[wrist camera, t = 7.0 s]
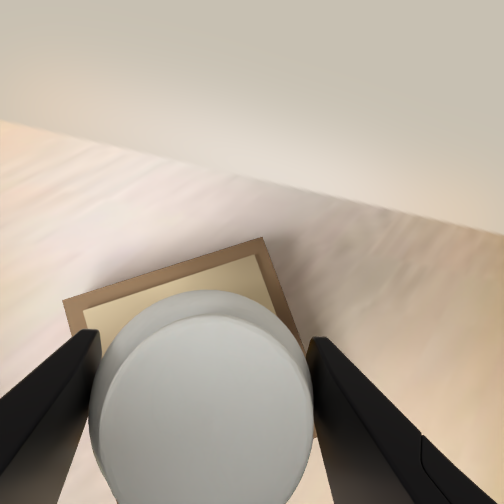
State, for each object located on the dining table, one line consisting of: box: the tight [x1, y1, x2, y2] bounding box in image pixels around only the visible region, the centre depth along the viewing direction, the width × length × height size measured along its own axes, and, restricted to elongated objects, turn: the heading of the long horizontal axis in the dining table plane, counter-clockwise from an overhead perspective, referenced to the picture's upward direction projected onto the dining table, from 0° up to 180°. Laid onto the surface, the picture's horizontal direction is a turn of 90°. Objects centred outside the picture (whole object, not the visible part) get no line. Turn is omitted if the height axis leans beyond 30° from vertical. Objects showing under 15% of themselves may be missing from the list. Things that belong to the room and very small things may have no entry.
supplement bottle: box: [88, 290, 314, 504], centre depth 11 cm, size 6×6×10 cm
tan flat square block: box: [62, 237, 317, 504], centre depth 17 cm, size 10×10×2 cm
